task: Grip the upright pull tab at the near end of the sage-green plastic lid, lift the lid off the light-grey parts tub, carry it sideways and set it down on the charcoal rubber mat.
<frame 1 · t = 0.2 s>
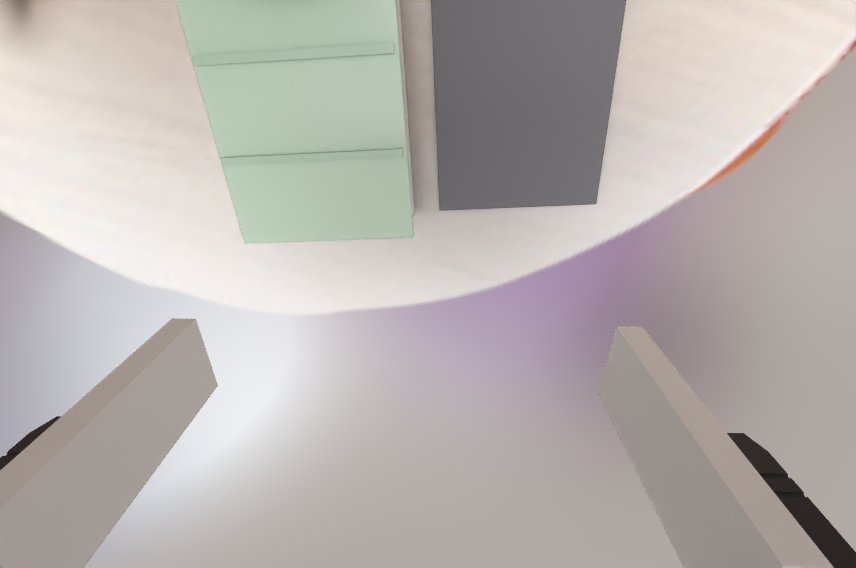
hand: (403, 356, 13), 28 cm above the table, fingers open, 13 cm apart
mat: (522, 92, 34), on the table
lid: (307, 107, 29), point 6 cm above the table, touching tub
tub: (328, 103, 35), on the table
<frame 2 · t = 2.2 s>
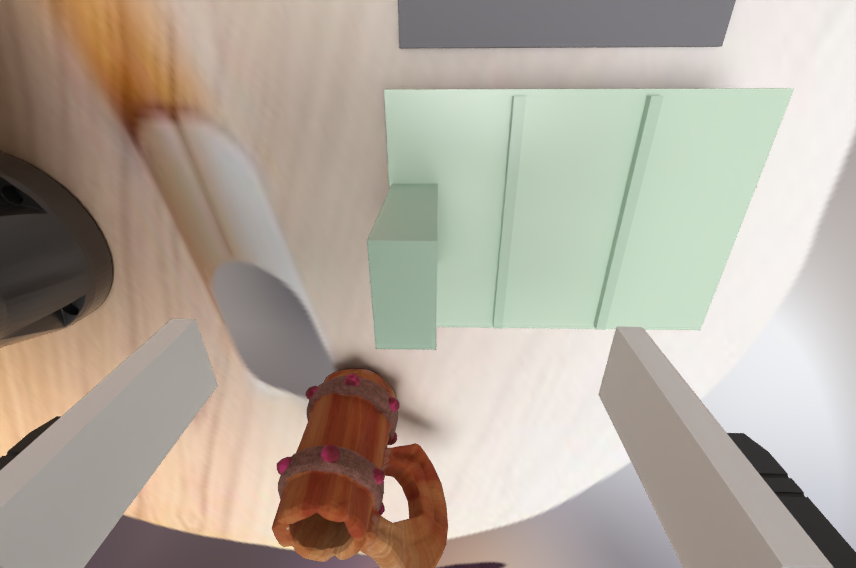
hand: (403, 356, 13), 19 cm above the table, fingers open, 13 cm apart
lid: (560, 221, 24), point 6 cm above the table, touching tub
mug: (381, 399, 40), on the table
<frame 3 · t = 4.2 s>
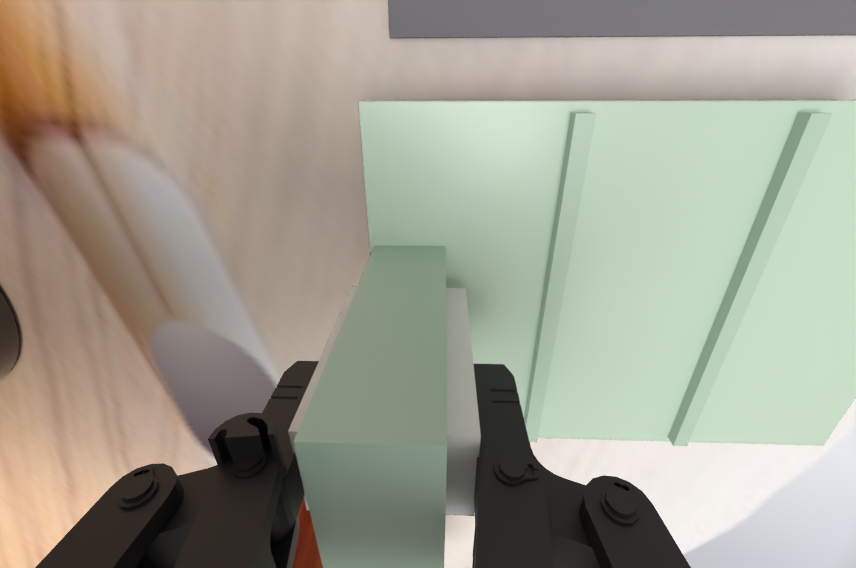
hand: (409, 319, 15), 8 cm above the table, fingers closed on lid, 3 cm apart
lid: (628, 297, 16), point 6 cm above the table, touching gripper, tub
mug: (371, 482, 32), on the table
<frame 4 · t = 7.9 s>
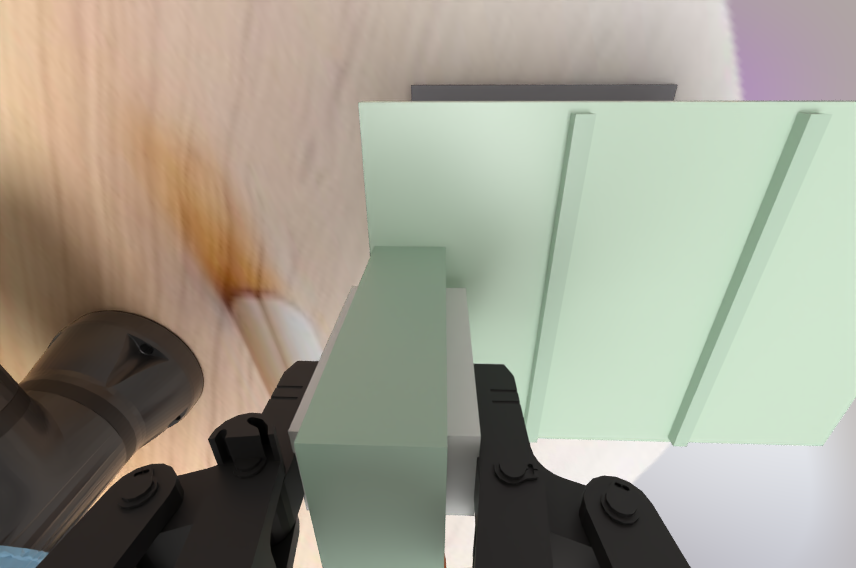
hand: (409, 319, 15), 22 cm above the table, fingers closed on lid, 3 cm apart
mat: (530, 183, 34), on the table
lid: (628, 298, 16), point 20 cm above the table, touching gripper
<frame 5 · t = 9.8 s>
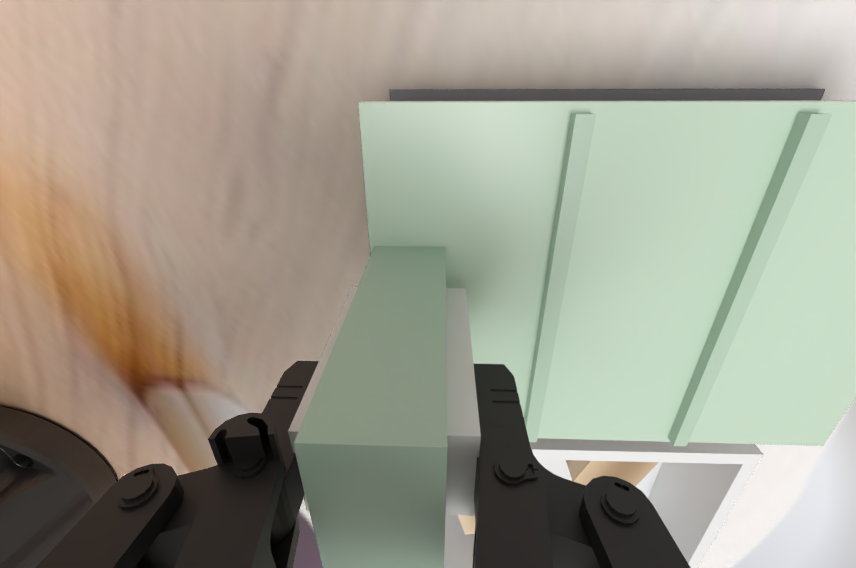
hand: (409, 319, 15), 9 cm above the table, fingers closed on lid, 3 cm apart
mat: (574, 238, 22), on the table
lid: (628, 298, 16), point 7 cm above the table, touching gripper
tub: (536, 447, 30), on the table
part b: (599, 433, 28), point 1 cm above the table, touching tub
when the fingers open (4 cm above the table, at t = 11.5 s): lid drops 1 cm, resting on mat.
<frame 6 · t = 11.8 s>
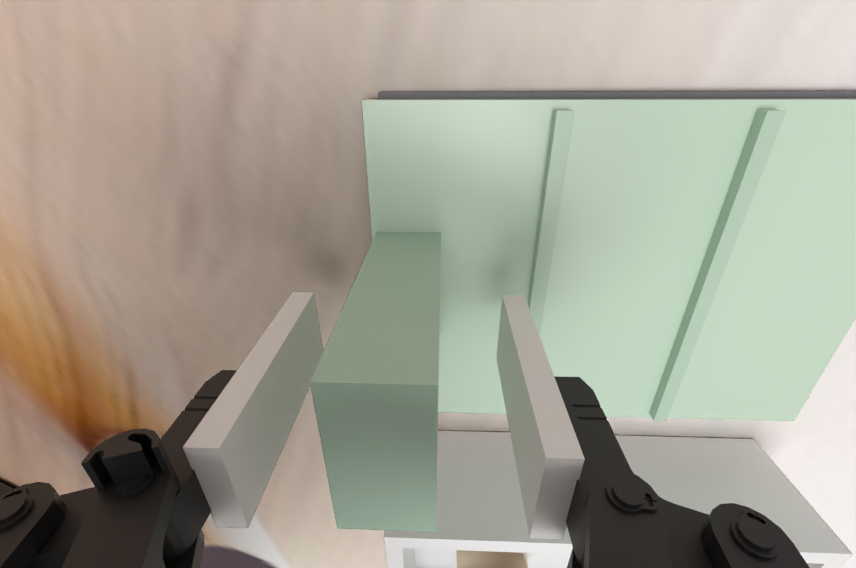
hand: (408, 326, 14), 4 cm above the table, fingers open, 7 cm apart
mat: (611, 277, 18), on the table
lid: (610, 281, 17), resting on mat
tub: (555, 510, 26), on the table
part a: (491, 542, 26), point 1 cm above the table, touching tub
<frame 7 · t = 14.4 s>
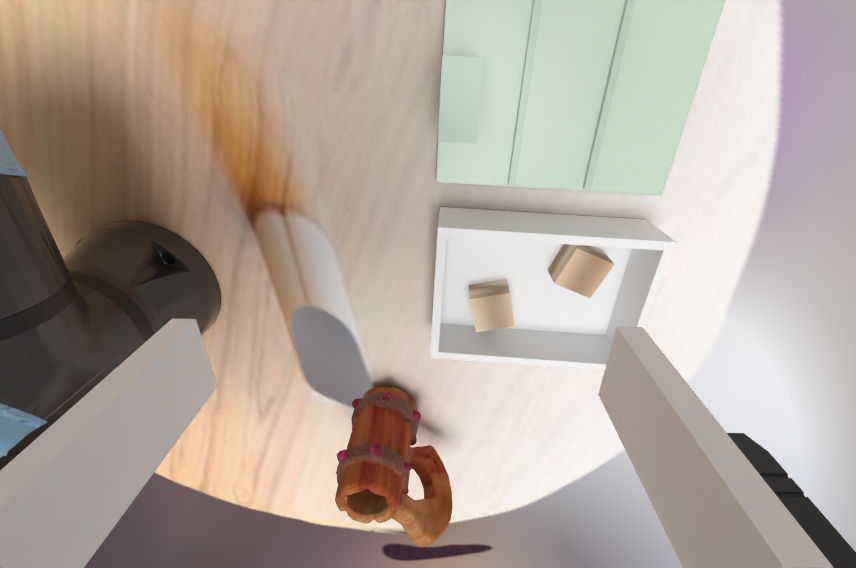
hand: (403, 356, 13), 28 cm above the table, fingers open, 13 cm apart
lid: (561, 101, 33), resting on mat
mug: (405, 410, 52), on the table
tub: (530, 276, 42), on the table
part b: (575, 260, 40), point 1 cm above the table, touching tub
part a: (490, 298, 42), point 1 cm above the table, touching tub
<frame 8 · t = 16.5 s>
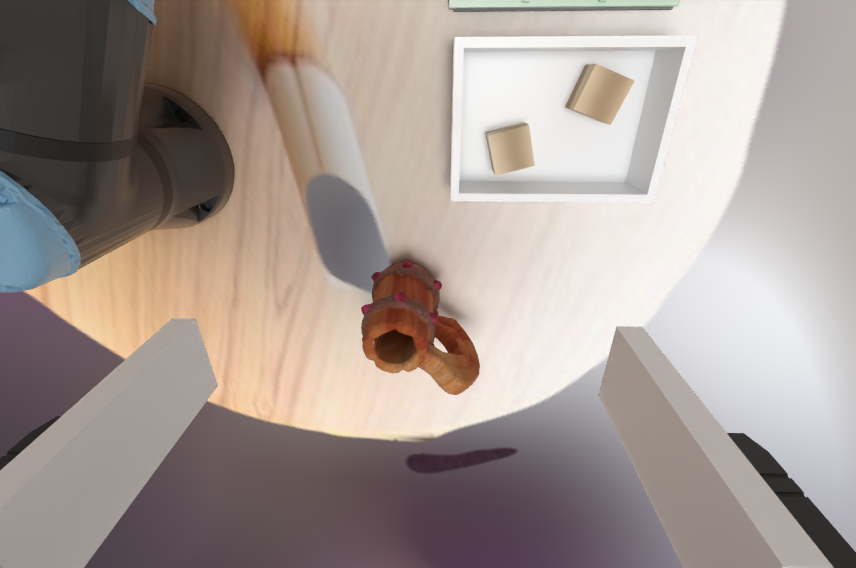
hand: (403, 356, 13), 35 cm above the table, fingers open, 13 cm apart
mug: (424, 292, 51), on the table
tub: (546, 120, 41), on the table
part b: (592, 94, 39), point 1 cm above the table, touching tub
part a: (507, 146, 42), point 1 cm above the table, touching tub
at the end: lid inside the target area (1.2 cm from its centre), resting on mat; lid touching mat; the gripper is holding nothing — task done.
